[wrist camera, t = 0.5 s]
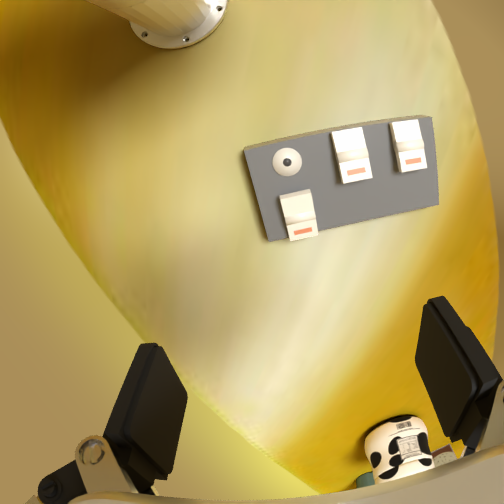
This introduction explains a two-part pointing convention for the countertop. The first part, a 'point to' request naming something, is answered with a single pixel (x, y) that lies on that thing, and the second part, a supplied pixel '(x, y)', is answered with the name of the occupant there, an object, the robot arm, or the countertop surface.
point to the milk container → (398, 449)
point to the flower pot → (365, 480)
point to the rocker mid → (351, 155)
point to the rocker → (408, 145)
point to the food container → (443, 455)
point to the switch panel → (329, 181)
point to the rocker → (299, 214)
